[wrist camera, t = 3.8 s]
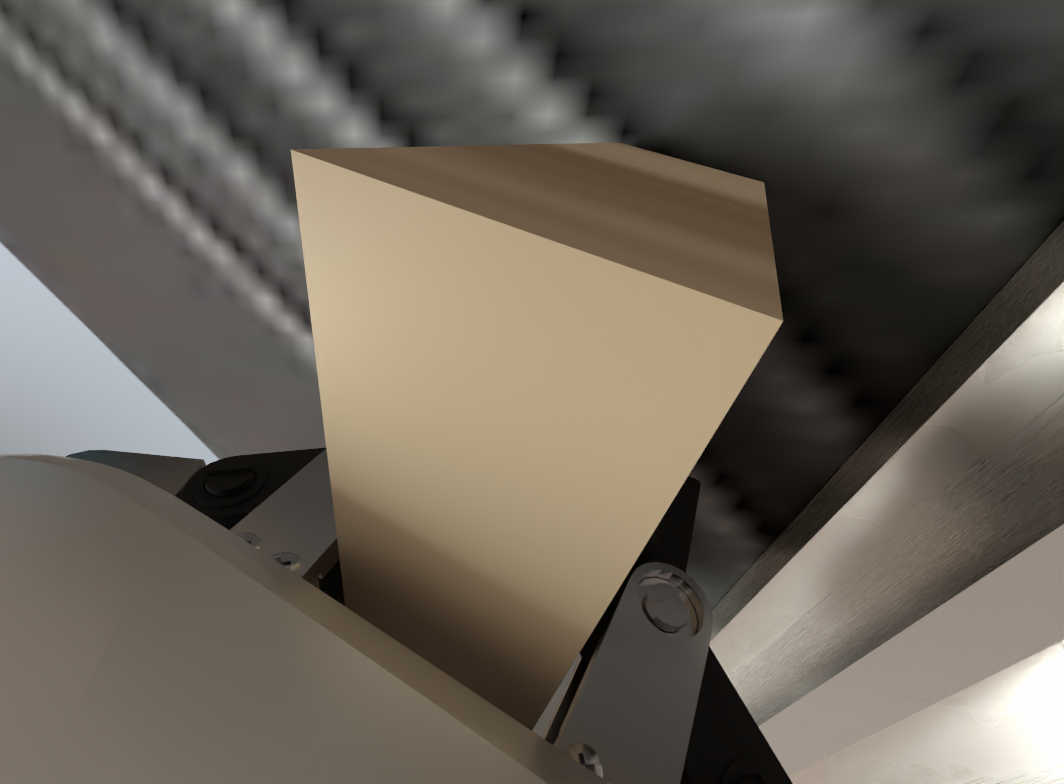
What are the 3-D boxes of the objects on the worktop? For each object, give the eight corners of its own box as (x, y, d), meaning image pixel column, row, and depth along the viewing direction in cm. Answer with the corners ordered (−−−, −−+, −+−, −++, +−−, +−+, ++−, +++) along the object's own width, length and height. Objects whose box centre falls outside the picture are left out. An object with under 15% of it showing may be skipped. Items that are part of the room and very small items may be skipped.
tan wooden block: (618, 142, 9) (291, 149, 3) (764, 182, 8) (784, 321, 2) (517, 504, 16) (361, 740, 10) (590, 542, 15) (473, 825, 9)
